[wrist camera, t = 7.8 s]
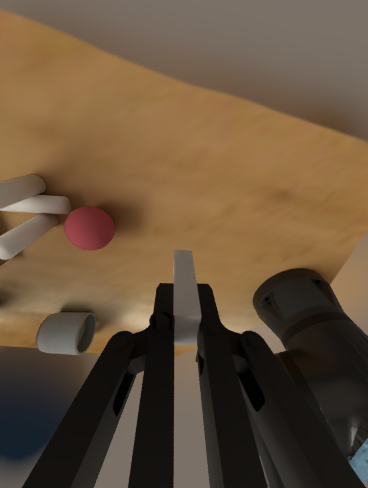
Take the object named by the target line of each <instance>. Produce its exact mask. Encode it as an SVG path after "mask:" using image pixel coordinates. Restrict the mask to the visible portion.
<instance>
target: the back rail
mask: <svg viewBox="0 0 368 488" xmlns="http://www.w3.org/2000/svg"><path fill="white" fill-rule="evenodd" d="M8 260H9V259H8ZM8 260H3V259H0V266H1V265H2V264H4V263H5V262H6V261H8Z"/></svg>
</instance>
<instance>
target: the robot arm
mask: <svg viewBox="0 0 368 488" xmlns="http://www.w3.org/2000/svg"><path fill="white" fill-rule="evenodd" d="M253 306H254V308H255V310H256V312H257V314H258V316H259V317H260V319H261V320H262V321H263V322H264V323H265V324H266V325H267V326H268V327H269V328H270V329H271V330H272V331H273V332H274V333H275V334H276V336H278V338H279V339H280V340H281V342H282V343H283V345H284V347H285V349H286V351H284V352H280V353H276V354H273V352H272V351H271V349H270V348H269V347H268V345H267V344H266V342H265V341H264V339H263V338H262V337H261V336H260V335H259V334H257V333H256V332H253V331H245V332H243V333H242V334H239V333H236V332H233V331H231V330H228V329H227V328H225V327H224V326H223V324H222V323H221V321H220V319H219V315H218V311H217V307H216V303H215V299H214V296H213V291H212V288H211V287H210V286H209V285H208V284H197V282H196V276H195V269H194V263H193V256H192V251H187V250H175V252H174V272H173V283H160V284H159V286H158V287H157V289H156V297H155V304H154V312H153V314H152V315H151V317H150V320H149V322H150V325H149V326H148V328H146V329H145V330H143V331H140V332H137V333H134V334H132V333H131V332H129V331H121V332H118V333H116V334H115V335H113V336H112V338H111V339H110V340H109V342H108V343H107V345H106V347H105V348H104V350H103V352H102V353H101V355H100V357H99V358H98V360H97V362H96V363H95V365H94V367H93V369H92V370H91V372H90V374H89V376H88V377H87V379H86V380H85V382H84V384H83V385H82V387H81V389H80V390H79V392H78V394H77V396H76V397H75V399H74V401H73V402H72V404H71V406H70V407H69V409H68V411H67V412H66V414H65V416H64V418H63V419H62V421H61V423H60V424H59V426H58V428H57V429H56V431H55V433H54V434H53V436H52V438H51V439H50V441H49V443H48V444H47V446H46V448H45V450H44V451H43V453H42V455H41V457H40V458H39V460H38V462H37V463H36V465H35V467H34V468H33V470H32V471H31V473H30V475H29V477H28V478H27V480H26V482H25V483H24V485H23V487H22V488H94V485H95V483H96V480H97V478H98V475H99V472H100V470H101V467H102V464H103V462H104V459H105V456H106V454H107V451H108V448H109V446H110V443H111V440H112V438H113V435H114V433H115V430H116V428H117V425H118V422H119V419H120V417H121V414H122V412H123V409H124V407H125V404H126V401H127V399H128V396H129V393H130V391H131V388H132V385H133V383H134V380H135V378H136V375H137V373H139V372H142V371H144V376H143V383H142V391H141V398H140V405H139V412H138V419H137V427H136V433H135V441H134V449H133V455H132V463H131V470H130V477H129V484H128V488H173V477H174V476H173V475H174V458H173V457H174V345H196V343H197V346H198V350H197V355H196V362H198V369H199V381H200V391H201V400H202V410H203V421H204V431H205V441H206V452H207V462H208V472H209V482H210V488H366V487H365V486H364V484H363V483H364V482H368V336H367V335H366V334H365V333H364V332H363V331H362V330H361V329H360V328H359V327H358V326H357V325H356V324H355V323H354V322H353V321H352V320H351V319H350V318H349V317H348V316H347V315H346V314H345V313H344V312H343V309H342V307H341V305H340V304H339V302H338V300H337V298H336V296H335V294H334V292H333V290H332V288H331V286H330V285H329V283H328V282H327V281H326V280H325V279H324V278H323V277H322V276H321V275H320V274H318V273H317V272H315V271H313V270H309V269H293V270H288V271H285V272H282V273H279V274H277V275H275V276H273V277H271V278H270V279H268V280H267V281H265V282H264V283H263V284H262V285H261V286H260V287H259V288H258V289H257V291H256V293H255V295H254V297H253Z"/></svg>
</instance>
